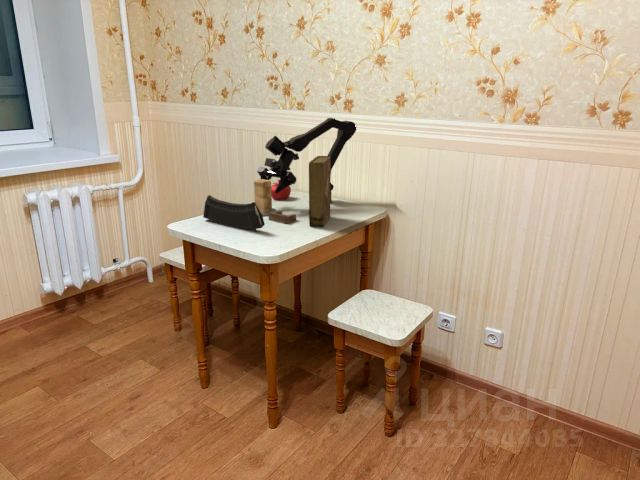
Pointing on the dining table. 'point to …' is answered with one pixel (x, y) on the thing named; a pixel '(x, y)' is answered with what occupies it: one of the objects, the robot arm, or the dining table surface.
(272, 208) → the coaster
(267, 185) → the oak block
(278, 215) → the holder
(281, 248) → the dining table surface
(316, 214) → the book
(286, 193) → the pomegranate
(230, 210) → the magazine
